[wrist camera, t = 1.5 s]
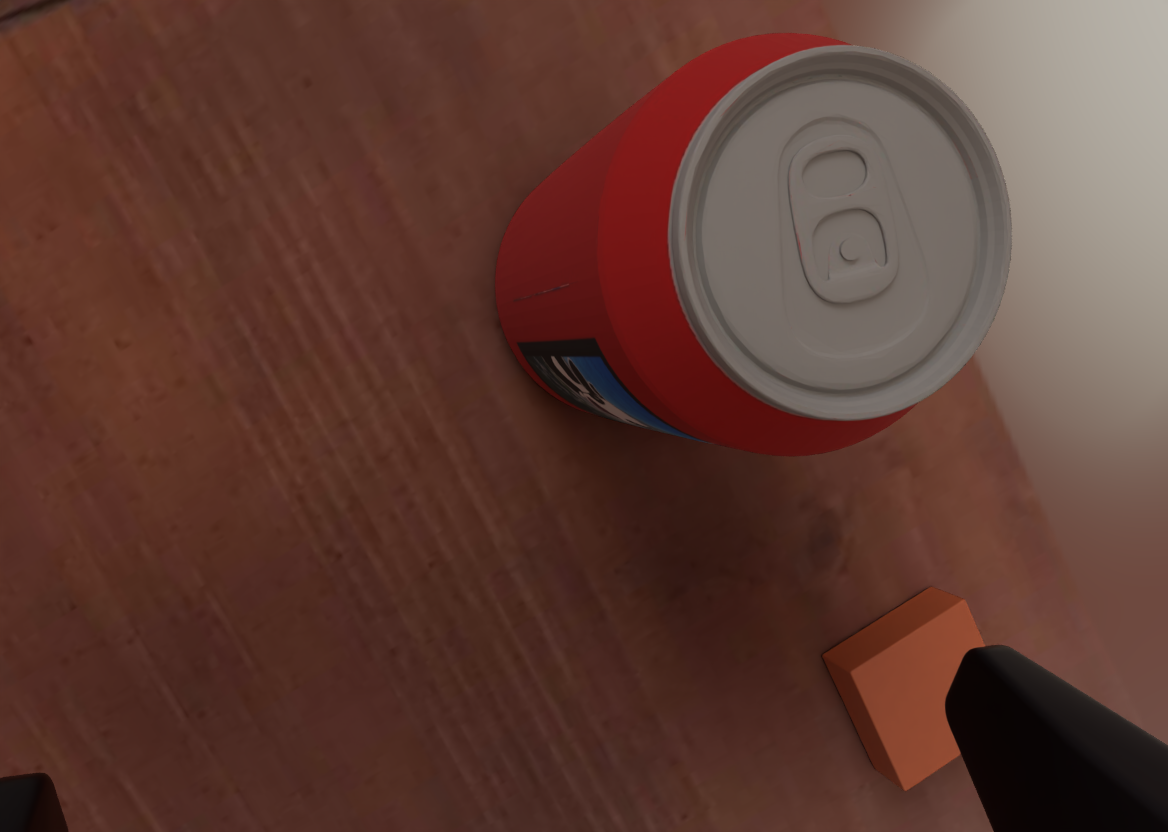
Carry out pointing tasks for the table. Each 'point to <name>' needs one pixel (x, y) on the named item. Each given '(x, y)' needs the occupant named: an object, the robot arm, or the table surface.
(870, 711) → the terracotta tile
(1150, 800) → the robot arm
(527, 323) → the beverage can
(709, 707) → the table surface
